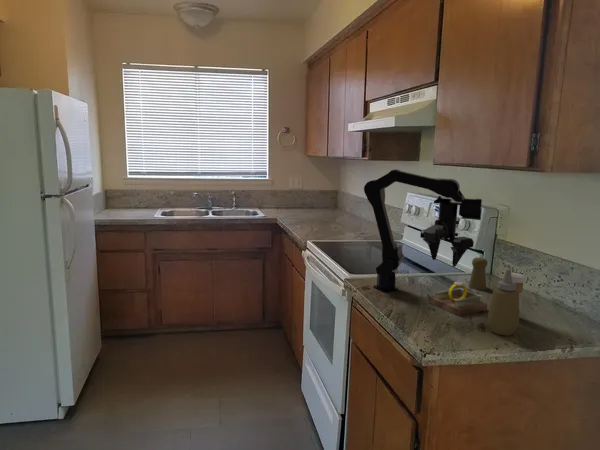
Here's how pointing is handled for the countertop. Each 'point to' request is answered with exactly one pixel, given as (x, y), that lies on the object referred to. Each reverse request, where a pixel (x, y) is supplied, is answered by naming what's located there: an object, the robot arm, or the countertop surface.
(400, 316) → the countertop surface
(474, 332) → the countertop surface
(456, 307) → the dock
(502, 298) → the squeeze bottle
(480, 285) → the wooden pepper mill
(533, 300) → the countertop surface
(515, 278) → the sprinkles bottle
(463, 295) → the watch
